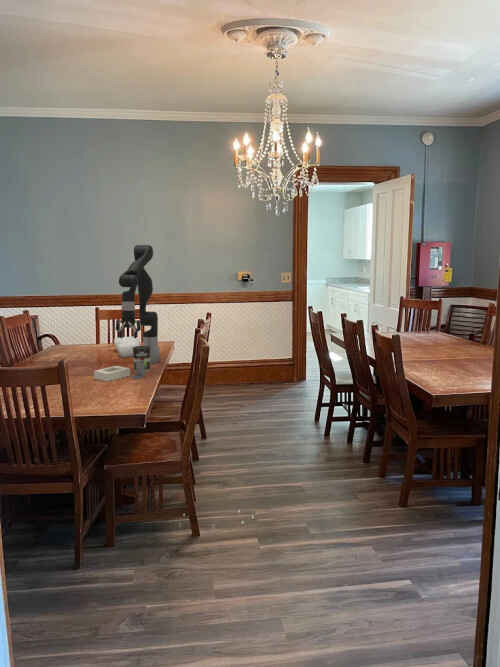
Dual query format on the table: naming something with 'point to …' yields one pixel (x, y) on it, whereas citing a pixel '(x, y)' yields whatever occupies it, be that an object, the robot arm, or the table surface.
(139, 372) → the grey rectangular block
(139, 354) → the coffee can
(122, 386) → the table surface
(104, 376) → the well block
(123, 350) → the wavy white extrusion
